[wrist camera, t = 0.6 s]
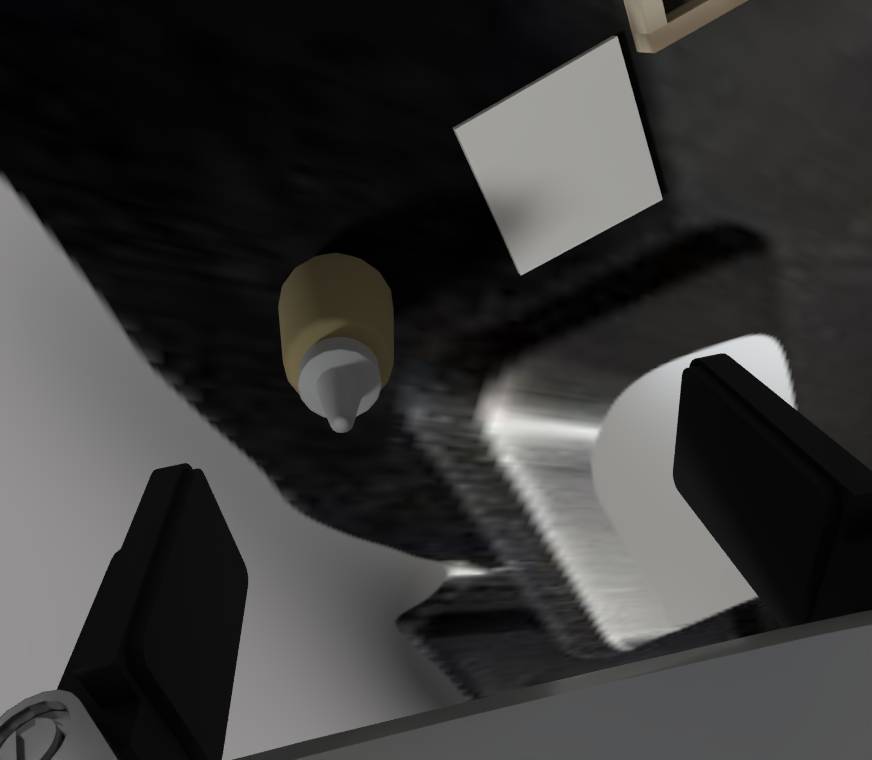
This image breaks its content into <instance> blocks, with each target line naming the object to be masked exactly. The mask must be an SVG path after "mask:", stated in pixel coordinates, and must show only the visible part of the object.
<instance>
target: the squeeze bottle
mask: <svg viewBox="0 0 872 760" xmlns="http://www.w3.org/2000/svg"><path fill="white" fill-rule="evenodd" d="M278 308H279V320H280V331H281V343H282V355H283V364H284V367H285V371H286V375H287V378H288V381H289V383H290V384H291V385H292V386H293V387H294V389H295V390H296V391H297V392H298V393H299V395H300V396H301V399H302V400H303V402H304V403H305V404H306V405H307V406H308V408H309V409H310V410H311V411H313V412H315V413H317V414H319V415H321V416H323V417H326V418H327V419H328V421H329V423H330V426H331V428H332V429H333V430H334V431H336V432H339V433H344V432H347V431H349V430H350V429H351V428H352V427H353V424H354V421H355V417H356V416H358V415H360V414H361V413H363V412H365V411H367V410H369V409H370V407H371V406H372V405H373V404H374V403H375V401H376V400H377V399H378V397H379V393H380V390H381V389H382V388H383V387H384V386H385V384H386V383H387V382H388V381H389V377H390V374H391V370H392V367H393V364H394V309H393V303H392V296H391V289H390V288H389V286H388V285H387V283H386V282H385V280H384V278H383V277H382V275H381V274H380V272H379V271H378V270H376V269H375V268H373V267H372V266H370V265H369V264H368V263H366V262H365V261H363V260H362V259H360V258H357V257H353V256H349V255H345V254H340V253H331V254H324V255H319V256H316V257H313V258H312V259H310V260H308V261H307V262H305V263H303V264H301V265H300V266H298V267H296V268H295V269H294V270H293V272H292V273H291V275H290V276H289V277H288V279H287V280H286V282H285V283H284V284H283V286H282V290H281V295H280V301H279V306H278Z"/></svg>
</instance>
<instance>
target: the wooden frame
mask: <svg viewBox="0 0 872 760" xmlns="http://www.w3.org/2000/svg"><path fill="white" fill-rule="evenodd" d="M746 1H748V0H690V1H688V2H686V3H685V4H683V5H681V6H679V7H678V8H676V9H674V10H672V11H671V12H669V13H667V14H665V11H664V7H663V2H662V0H624V4H625V8H626V11H627V15H628V19H629V23H630V27H631V30H632V34H633V38H634V42H635V46H636V49H637V52H645V53H656V52H658V51H659V50H661V49H663V48H665V47H667V46H668V45H670V44H672V43H674V42H675V41H677V40H679V39H681V38H682V37H684V36H686V35H688V34H689V33H691V32H693V31H695V30H697V29H698V28H700V27H702V26H704V25H705V24H707V23H709V22H711V21H712V20H714V19H716V18H718V17H719V16H721V15H723V14H725V13H727V12H728V11H730V10H732V9H734V8H735V7H737V6H739V5H741V4H742V3H744V2H746Z"/></svg>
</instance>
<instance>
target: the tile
mask: <svg viewBox="0 0 872 760" xmlns="http://www.w3.org/2000/svg"><path fill="white" fill-rule="evenodd" d="M453 130H454V132H455V134H456V136H457V139H458V141H459V143H460V145H461V147H462V150H463V152H464V154H465V156H466V158H467V161H468V163H469V165H470V167H471V169H472V172H473V174H474V176H475V178H476V181H477V183H478V185H479V187H480V189H481V192H482V194H483V196H484V198H485V200H486V203H487V205H488V207H489V209H490V211H491V214H492V216H493V218H494V220H495V222H496V225H497V227H498V229H499V231H500V233H501V236H502V238H503V240H504V242H505V244H506V247H507V249H508V251H509V253H510V255H511V258H512V260H513V262H514V264H515V266H516V269H517V271H518V273H519V274H520V275H523V274H525V273H526V272H528V271H530V270H532V269H534V268H536V267H538V266H539V265H541V264H543V263H545V262H547V261H549V260H551V259H552V258H554V257H556V256H558V255H560V254H562V253H564V252H566V251H567V250H569V249H571V248H573V247H575V246H577V245H579V244H580V243H582V242H584V241H586V240H588V239H590V238H592V237H594V236H595V235H597V234H599V233H601V232H603V231H605V230H607V229H608V228H610V227H612V226H614V225H616V224H618V223H620V222H621V221H623V220H625V219H627V218H629V217H631V216H633V215H635V214H636V213H638V212H640V211H642V210H644V209H646V208H648V207H649V206H651V205H653V204H655V203H657V202H659V201H661V200H662V196H661V192H660V188H659V185H658V181H657V178H656V174H655V170H654V167H653V163H652V159H651V156H650V152H649V149H648V145H647V141H646V138H645V134H644V131H643V127H642V123H641V120H640V116H639V112H638V109H637V105H636V102H635V98H634V94H633V91H632V87H631V84H630V80H629V76H628V73H627V69H626V65H625V62H624V58H623V55H622V51H621V47H620V44H619V40H618V37H617V36H611V37H610V38H608V39H606V40H605V41H603V42H601V43H599V44H598V45H596V46H594V47H592V48H591V49H589V50H587V51H585V52H584V53H582V54H580V55H578V56H577V57H575V58H573V59H572V60H570V61H568V62H566V63H565V64H563V65H561V66H559V67H558V68H556V69H554V70H552V71H551V72H549V73H547V74H545V75H544V76H542V77H540V78H538V79H537V80H535V81H533V82H532V83H530V84H528V85H526V86H525V87H523V88H521V89H519V90H518V91H516V92H514V93H512V94H511V95H509V96H507V97H505V98H504V99H502V100H500V101H499V102H497V103H495V104H493V105H492V106H490V107H488V108H486V109H485V110H483V111H481V112H479V113H478V114H476V115H474V116H472V117H471V118H469V119H467V120H466V121H464V122H462V123H460V124H459V125H457V126H455V127H453Z"/></svg>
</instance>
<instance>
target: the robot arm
mask: <svg viewBox="0 0 872 760" xmlns="http://www.w3.org/2000/svg"><path fill="white" fill-rule="evenodd" d="M673 478H674V483H675V485H676V488H677V490H678V491H679V493H680V494H681V495H682V497H683V498H684V499H685V501H686V502H687V503H688V504H689V506H690V507H691V508H692V510H693V511H694V512H695V514H696V515H697V516H698V518H699V519H700V520H701V522H702V523H703V524H704V525H705V527H706V528H707V529H708V531H709V532H710V533H711V535H712V536H713V537H714V538H715V540H716V541H717V542H718V544H719V545H720V547H721V548H722V549H723V550H724V552H725V553H726V554H727V556H728V557H729V558H730V560H731V561H732V562H733V564H734V565H735V566H736V568H737V569H738V570H739V571H740V572H741V574H742V575H743V577H744V578H745V579H746V581H747V582H748V583H749V585H750V586H751V587H752V589H753V590H754V591H755V592H756V594H757V595H758V596H759V598H760V599H761V600H762V602H763V603H764V604H765V606H766V607H767V608H768V610H769V611H770V612H771V614H772V615H773V616H774V617H775V619H776V620H777V621H778V623H779V624H780V625H781V626H782V627H783V629H779V630H774V631H770V632H765V633H761V634H756V635H752V636H748V637H743V638H739V639H735V640H730V641H726V642H722V643H717V644H713V645H709V646H704V647H700V648H696V649H691V650H687V651H682V652H678V653H674V654H669V655H665V656H661V657H656V658H652V659H648V660H643V661H639V662H635V663H630V664H626V665H622V666H618V667H613V668H609V669H605V670H600V671H596V672H592V673H588V674H583V675H579V676H575V677H571V678H566V679H562V680H558V681H554V682H549V683H545V684H541V685H537V686H532V687H528V688H524V689H520V690H516V691H511V692H507V693H503V694H499V695H494V696H490V697H486V698H482V699H477V700H473V701H469V702H465V703H461V704H457V705H452V706H448V707H444V708H440V709H436V710H431V711H427V712H423V713H419V714H415V715H412V716H407V717H403V718H399V719H394V720H390V721H386V722H382V723H378V724H374V725H369V726H366V727H361V728H357V729H353V730H349V731H345V732H340V733H336V734H332V735H328V736H324V737H320V738H316V739H311V740H307V741H303V742H300V743H295V744H292V745H288V746H284V747H280V748H276V749H272V750H269V751H265V752H261V753H257V754H253V755H249V756H246V757H242V758H238V759H234V760H872V471H871V470H870V469H868V468H867V467H866V466H865V465H863V464H862V463H861V462H860V461H859V460H857V459H856V458H855V457H854V456H852V455H851V454H850V453H849V452H847V451H846V450H845V449H844V448H842V447H841V446H840V445H839V444H837V443H836V442H835V441H834V440H833V439H831V438H830V437H829V436H828V435H826V434H825V433H824V432H823V431H821V430H820V429H819V428H818V427H816V426H815V425H814V424H813V423H811V422H810V421H809V420H808V419H807V418H805V417H804V416H803V415H802V414H800V413H799V412H798V411H797V410H795V409H794V408H793V407H792V406H790V405H789V404H788V403H787V402H785V401H784V400H783V399H782V398H780V397H779V396H778V395H777V394H776V393H774V392H773V391H772V390H771V389H769V388H768V387H767V386H765V385H764V384H763V383H762V382H761V381H759V380H758V379H757V378H756V377H754V376H753V375H752V374H751V373H750V372H748V371H747V370H746V369H745V368H743V367H742V366H741V365H740V364H738V363H737V362H736V361H735V360H733V359H732V358H731V357H730V356H728V355H726V354H716V355H711V356H706V357H702V358H697V359H694V360H692V362H691V363H690V367H689V368H686V369H684V371H683V374H682V382H681V393H680V403H679V413H678V424H677V435H676V445H675V456H674V466H673ZM247 589H248V573H247V569H246V566H245V563H244V561H243V559H242V557H241V554H240V552H239V550H238V548H237V546H236V544H235V541H234V539H233V537H232V535H231V532H230V530H229V528H228V526H227V524H226V521H225V519H224V517H223V515H222V512H221V510H220V508H219V506H218V504H217V501H216V499H215V497H214V495H213V493H212V490H211V488H210V486H209V484H208V482H207V479H206V477H205V475H204V473H203V471H202V470H201V469H194V470H193V469H192V467H191V466H190V465H189V464H187V463H184V464H179V465H174V466H170V467H165V468H160V469H156V470H154V471H153V473H152V474H151V476H150V479H149V481H148V484H147V486H146V489H145V491H144V494H143V496H142V498H141V501H140V503H139V506H138V508H137V511H136V513H135V516H134V518H133V521H132V523H131V526H130V528H129V530H128V533H127V535H126V538H125V540H124V543H123V545H122V547H121V549H120V550H119V551H118V552H116V553H115V554H114V556H113V558H112V560H111V562H110V564H109V566H108V569H107V571H106V573H105V576H104V578H103V581H102V583H101V585H100V588H99V590H98V592H97V595H96V598H95V600H94V602H93V604H92V607H91V609H90V612H89V614H88V617H87V619H86V621H85V624H84V626H83V628H82V631H81V633H80V636H79V638H78V640H77V643H76V645H75V647H74V650H73V652H72V655H71V657H70V659H69V662H68V664H67V667H66V669H65V671H64V674H63V676H62V679H61V681H60V683H59V686H58V688H57V690H53V691H46V692H42V693H39V694H37V695H35V696H32V697H29V698H27V699H25V700H23V701H22V702H20V703H18V704H17V705H15V706H14V707H12V708H11V709H9V710H7V711H6V712H5V713H4V714H3V715H2V716H1V717H0V760H222V755H223V749H224V742H225V735H226V729H227V722H228V716H229V708H230V702H231V695H232V689H233V682H234V676H235V669H236V662H237V656H238V649H239V642H240V635H241V629H242V622H243V616H244V609H245V602H246V596H247Z"/></svg>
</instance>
